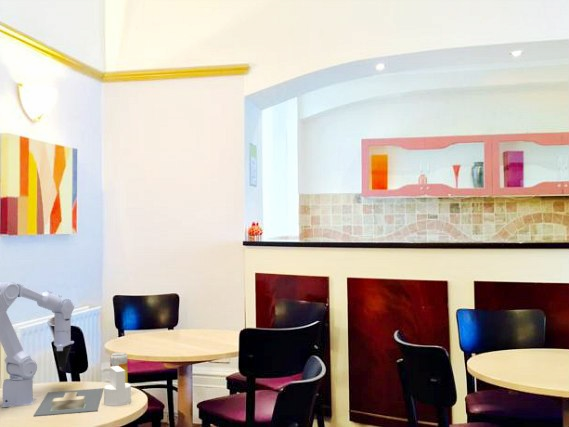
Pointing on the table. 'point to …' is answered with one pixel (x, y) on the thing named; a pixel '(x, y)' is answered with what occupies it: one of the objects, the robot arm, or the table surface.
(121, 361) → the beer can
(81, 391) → the mat
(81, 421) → the table surface
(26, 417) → the table surface
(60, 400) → the t block
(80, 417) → the table surface
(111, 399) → the cylinder with rectangular tab
